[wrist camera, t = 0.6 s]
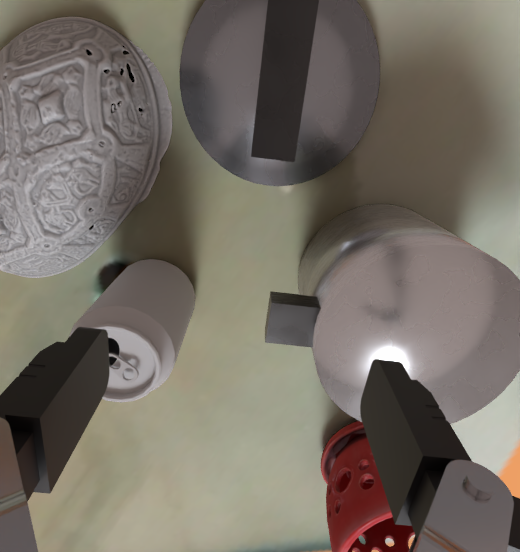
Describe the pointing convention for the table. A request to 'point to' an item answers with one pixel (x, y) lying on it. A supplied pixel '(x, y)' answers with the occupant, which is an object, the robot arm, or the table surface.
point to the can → (142, 326)
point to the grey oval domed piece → (74, 141)
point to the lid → (279, 85)
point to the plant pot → (358, 496)
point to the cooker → (402, 309)
